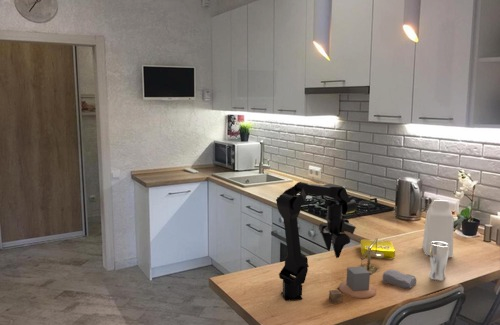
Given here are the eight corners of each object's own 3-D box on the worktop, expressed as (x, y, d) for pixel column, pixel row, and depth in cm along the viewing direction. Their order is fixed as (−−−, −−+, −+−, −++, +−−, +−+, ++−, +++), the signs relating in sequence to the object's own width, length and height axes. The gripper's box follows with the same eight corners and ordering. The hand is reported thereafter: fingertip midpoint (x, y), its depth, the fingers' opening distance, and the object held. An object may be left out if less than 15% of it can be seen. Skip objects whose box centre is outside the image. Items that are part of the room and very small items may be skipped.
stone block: (391, 279, 186) (380, 281, 178) (393, 267, 185) (382, 269, 178) (418, 288, 177) (408, 291, 170) (420, 277, 177) (410, 279, 170)
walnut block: (332, 303, 159) (332, 294, 158) (329, 299, 162) (329, 290, 162) (341, 302, 159) (341, 293, 159) (338, 298, 163) (338, 289, 162)
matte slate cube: (353, 291, 166) (354, 273, 165) (346, 284, 172) (347, 267, 171) (368, 290, 167) (369, 272, 166) (361, 283, 173) (362, 266, 172)
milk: (425, 255, 209) (429, 202, 205) (422, 247, 220) (425, 196, 216) (452, 257, 206) (457, 204, 202) (447, 249, 217) (452, 198, 213)
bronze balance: (366, 282, 177) (367, 253, 175) (349, 278, 181) (351, 249, 179) (385, 264, 197) (387, 237, 195) (370, 260, 201) (371, 234, 199)
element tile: (390, 249, 218) (391, 240, 217) (395, 260, 203) (395, 250, 202) (360, 247, 220) (360, 237, 219) (361, 257, 206) (362, 247, 205)
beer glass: (424, 276, 184) (427, 242, 182) (437, 274, 186) (440, 240, 184) (436, 282, 178) (439, 247, 175) (449, 280, 180) (452, 245, 178)
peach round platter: (347, 299, 162) (348, 296, 162) (333, 283, 175) (333, 281, 175) (382, 296, 164) (382, 293, 164) (365, 281, 178) (366, 278, 178)
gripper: (364, 221, 166) (361, 260, 168) (344, 209, 184) (342, 244, 186) (336, 223, 163) (334, 262, 166) (319, 210, 182) (317, 246, 184)
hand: (333, 253), depth 175 cm, fingers open, 9 cm apart
